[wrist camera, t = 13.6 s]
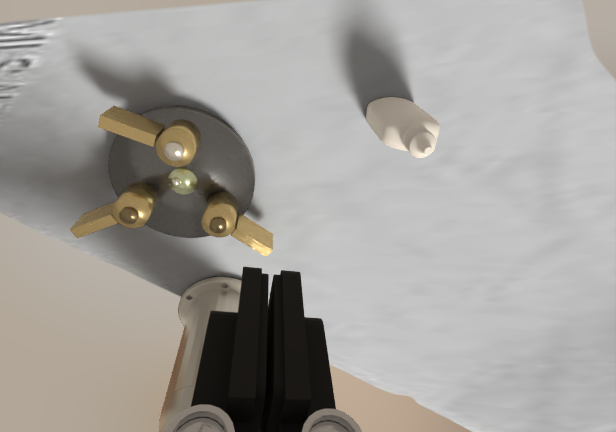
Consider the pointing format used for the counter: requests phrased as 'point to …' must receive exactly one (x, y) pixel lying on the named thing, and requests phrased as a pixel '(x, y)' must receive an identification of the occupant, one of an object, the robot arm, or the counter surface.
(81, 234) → the knob
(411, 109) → the eye dropper bottle
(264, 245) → the knob
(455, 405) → the counter surface
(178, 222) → the base
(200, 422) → the robot arm
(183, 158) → the knob
